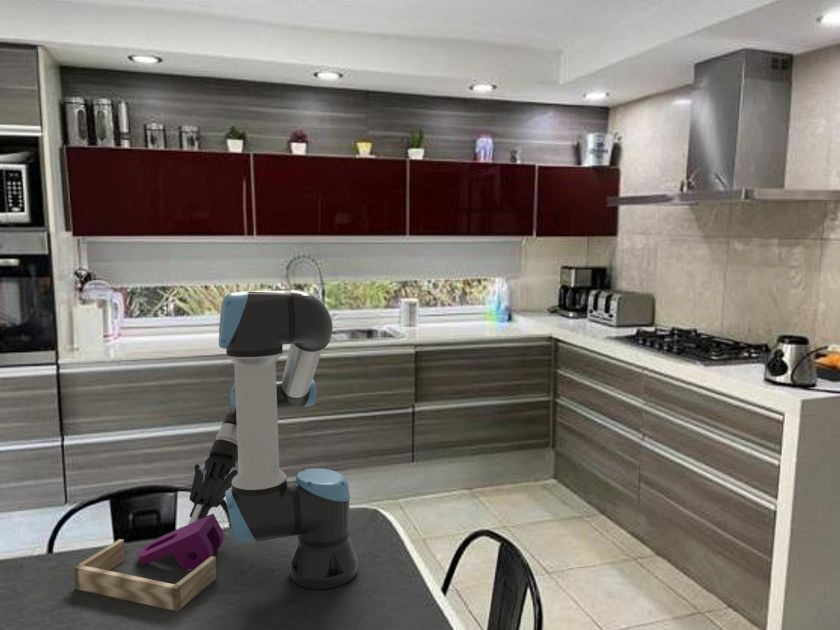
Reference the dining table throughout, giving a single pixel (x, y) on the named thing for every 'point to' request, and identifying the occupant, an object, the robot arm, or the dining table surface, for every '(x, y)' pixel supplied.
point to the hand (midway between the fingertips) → (191, 532)
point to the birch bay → (139, 580)
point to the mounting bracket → (187, 543)
